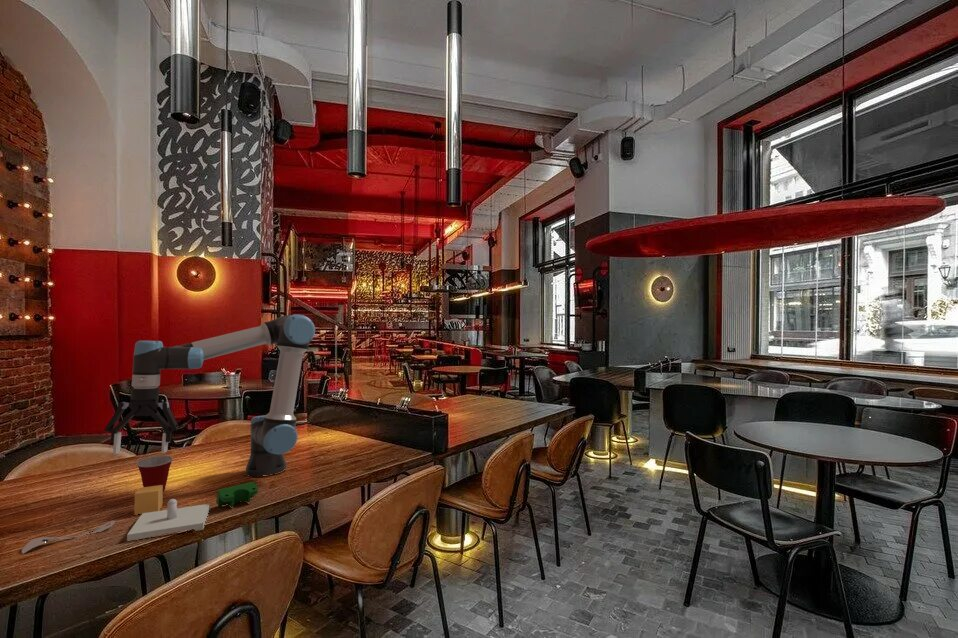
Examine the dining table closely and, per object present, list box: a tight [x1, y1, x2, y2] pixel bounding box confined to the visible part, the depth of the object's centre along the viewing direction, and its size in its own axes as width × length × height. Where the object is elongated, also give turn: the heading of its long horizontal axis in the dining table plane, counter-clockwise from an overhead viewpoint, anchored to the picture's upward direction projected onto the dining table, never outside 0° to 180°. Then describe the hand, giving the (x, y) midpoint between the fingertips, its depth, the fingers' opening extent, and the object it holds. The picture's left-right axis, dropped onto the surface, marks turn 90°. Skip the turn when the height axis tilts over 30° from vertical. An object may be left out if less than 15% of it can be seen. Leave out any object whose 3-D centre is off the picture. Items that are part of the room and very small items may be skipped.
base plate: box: [126, 498, 211, 542], centre depth 136 cm, size 18×16×8 cm
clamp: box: [215, 481, 259, 508], centre depth 151 cm, size 12×6×9 cm, turn 131°
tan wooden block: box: [134, 485, 164, 516], centre depth 146 cm, size 6×6×7 cm
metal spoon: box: [20, 520, 117, 555], centre depth 127 cm, size 20×4×5 cm
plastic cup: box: [136, 454, 174, 493], centre depth 162 cm, size 11×11×12 cm
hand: (140, 452), depth 148 cm, fingers open, 13 cm apart
